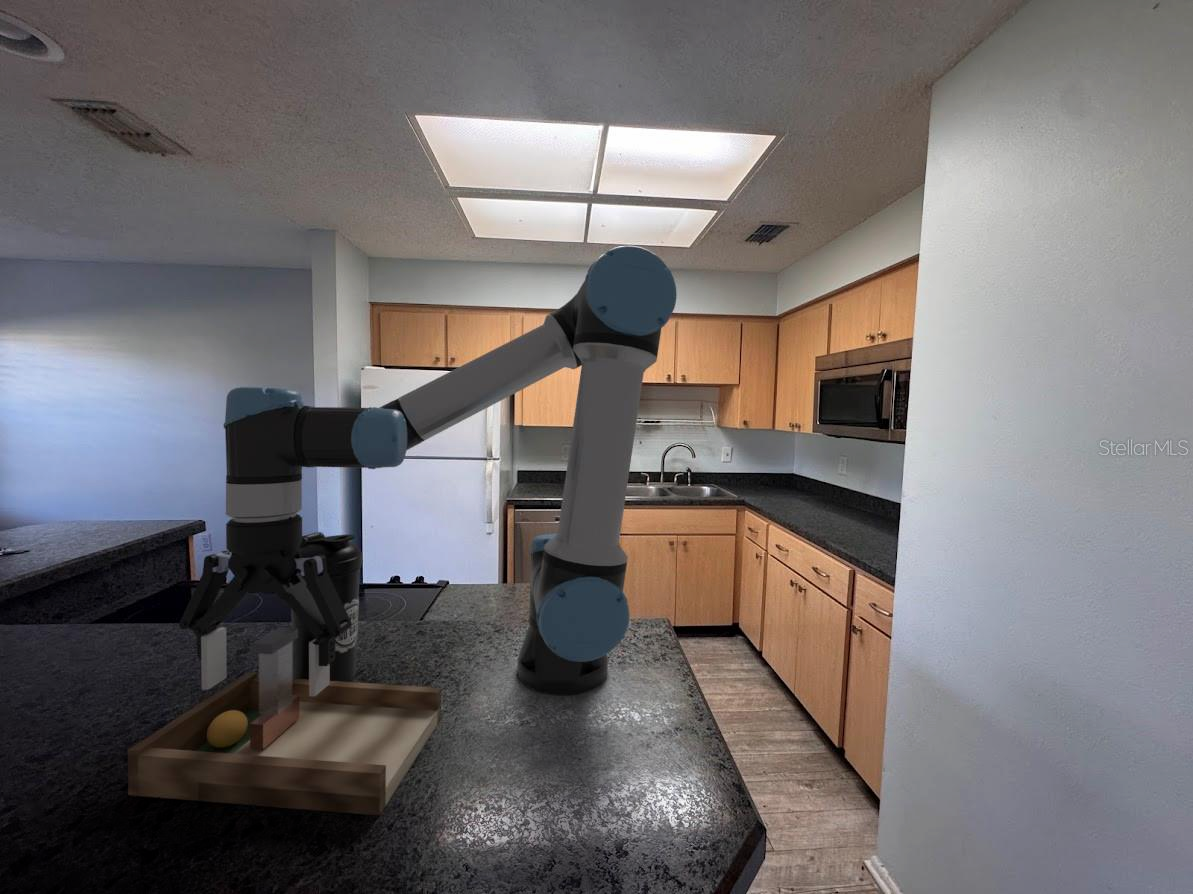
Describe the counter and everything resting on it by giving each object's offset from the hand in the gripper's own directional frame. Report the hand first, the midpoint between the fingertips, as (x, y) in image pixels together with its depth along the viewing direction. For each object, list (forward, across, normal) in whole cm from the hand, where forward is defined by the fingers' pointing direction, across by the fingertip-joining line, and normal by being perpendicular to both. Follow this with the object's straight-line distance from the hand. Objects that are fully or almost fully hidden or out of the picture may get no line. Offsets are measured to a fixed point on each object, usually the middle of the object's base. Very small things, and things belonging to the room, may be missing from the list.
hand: (266, 687), depth 57 cm
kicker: (+6, -1, 0) cm, 6 cm away
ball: (+6, +5, 0) cm, 8 cm away
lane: (+8, -5, 0) cm, 9 cm away
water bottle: (+8, +3, -16) cm, 18 cm away
